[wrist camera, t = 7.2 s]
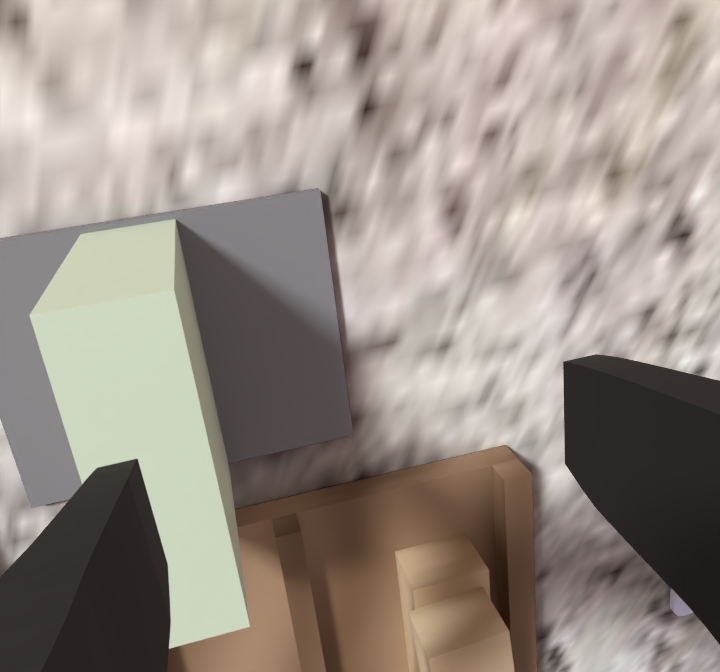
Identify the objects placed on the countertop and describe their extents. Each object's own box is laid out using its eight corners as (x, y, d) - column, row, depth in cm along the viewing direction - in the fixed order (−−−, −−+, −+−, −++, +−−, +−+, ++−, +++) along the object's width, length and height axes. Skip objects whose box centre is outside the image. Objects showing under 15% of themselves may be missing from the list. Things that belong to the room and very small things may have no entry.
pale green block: (175, 219, 19) (174, 289, 13) (229, 467, 22) (249, 626, 16) (80, 233, 18) (29, 315, 12) (148, 485, 21) (136, 657, 15)
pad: (317, 188, 20) (320, 190, 20) (350, 429, 23) (353, 435, 23) (-54, 246, 18) (-59, 250, 18) (34, 500, 21) (31, 507, 21)
